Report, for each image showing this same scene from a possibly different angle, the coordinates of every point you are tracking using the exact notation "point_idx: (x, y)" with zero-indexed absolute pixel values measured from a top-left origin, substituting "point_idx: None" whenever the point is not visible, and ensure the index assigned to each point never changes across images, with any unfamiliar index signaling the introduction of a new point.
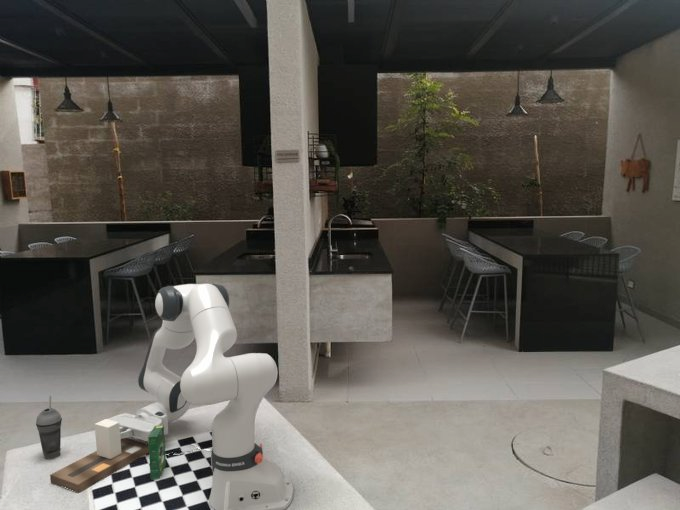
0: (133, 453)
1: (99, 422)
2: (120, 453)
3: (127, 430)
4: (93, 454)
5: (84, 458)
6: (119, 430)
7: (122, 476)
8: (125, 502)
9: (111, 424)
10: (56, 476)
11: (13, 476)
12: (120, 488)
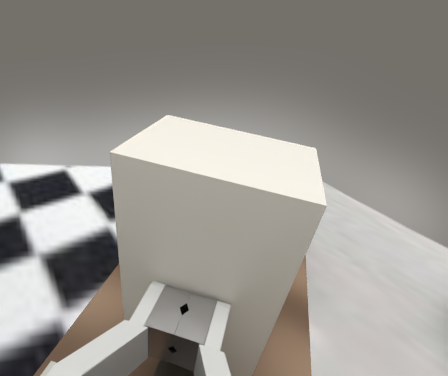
0: (39, 368)
1: (305, 160)
2: None
3: (72, 374)
4: (288, 320)
5: (294, 282)
6: (117, 220)
7: (84, 255)
8: (43, 169)
9: (170, 135)
10: None
11: (421, 239)
12: (72, 205)
